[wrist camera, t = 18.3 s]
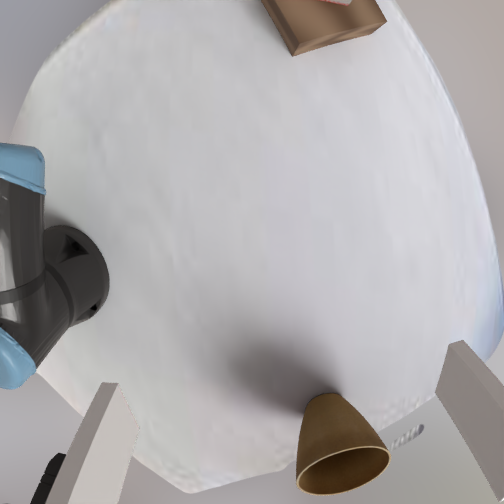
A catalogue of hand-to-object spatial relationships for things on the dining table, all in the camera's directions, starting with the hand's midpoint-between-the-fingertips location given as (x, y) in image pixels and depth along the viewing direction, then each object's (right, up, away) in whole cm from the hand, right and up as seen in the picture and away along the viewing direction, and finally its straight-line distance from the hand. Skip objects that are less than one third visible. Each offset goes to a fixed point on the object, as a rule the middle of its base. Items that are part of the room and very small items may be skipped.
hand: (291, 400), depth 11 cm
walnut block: (+7, +38, +21) cm, 44 cm away
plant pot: (+12, -23, +42) cm, 49 cm away
